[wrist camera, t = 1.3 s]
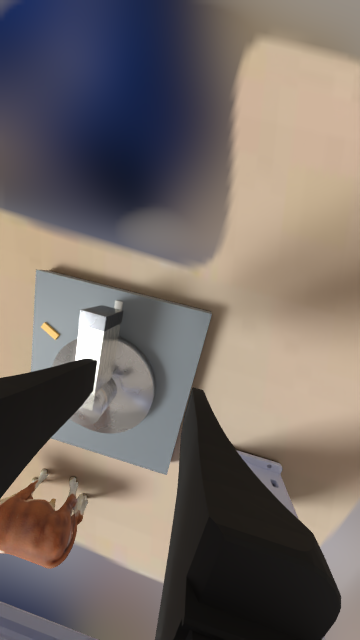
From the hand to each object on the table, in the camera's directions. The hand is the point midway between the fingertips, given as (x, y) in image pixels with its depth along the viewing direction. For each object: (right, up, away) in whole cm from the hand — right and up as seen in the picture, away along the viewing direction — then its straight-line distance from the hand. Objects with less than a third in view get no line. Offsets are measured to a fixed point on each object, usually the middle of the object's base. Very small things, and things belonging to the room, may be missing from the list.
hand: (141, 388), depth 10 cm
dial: (-5, -1, +9) cm, 11 cm away
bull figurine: (-16, -19, +16) cm, 29 cm away
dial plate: (-6, -2, +11) cm, 12 cm away
